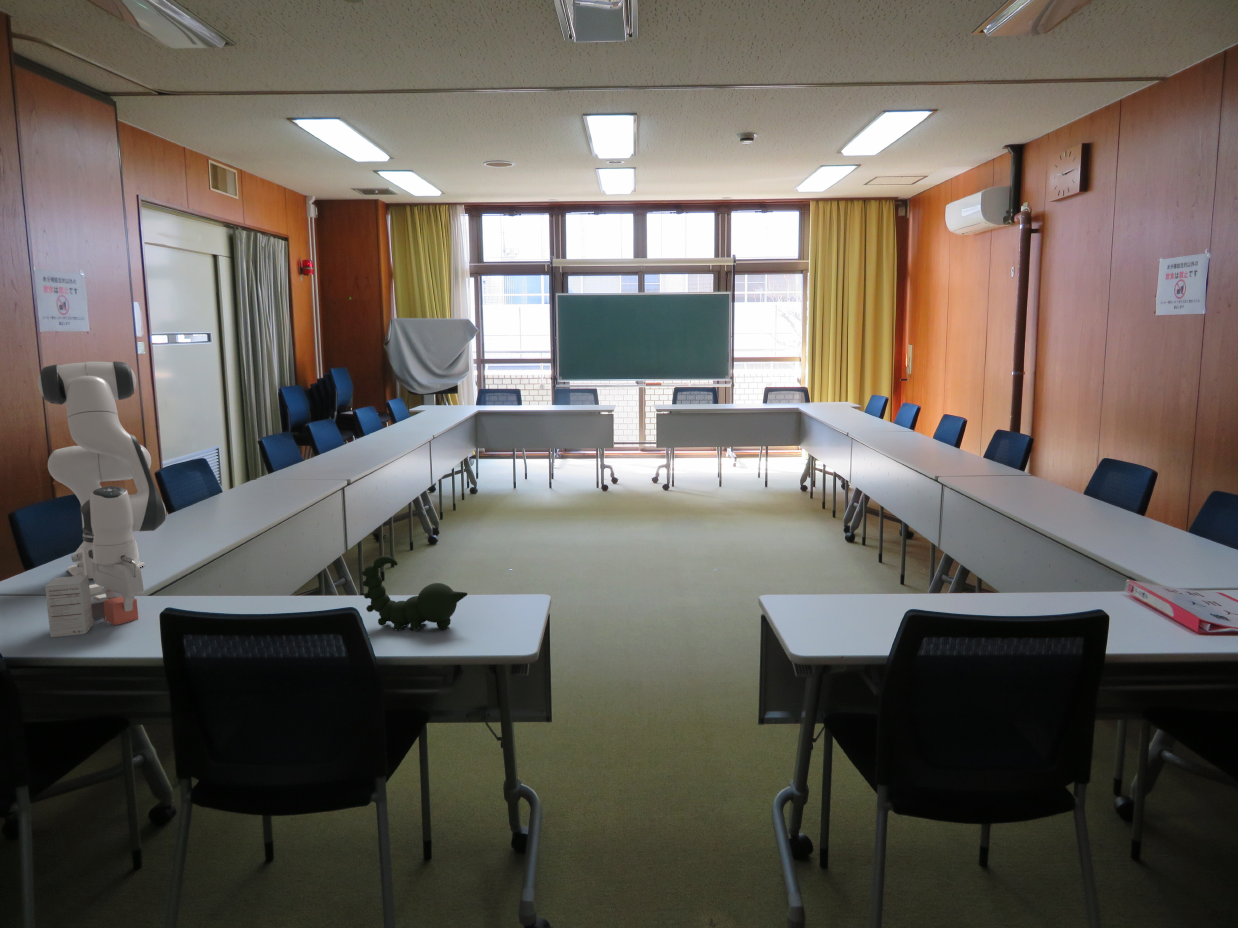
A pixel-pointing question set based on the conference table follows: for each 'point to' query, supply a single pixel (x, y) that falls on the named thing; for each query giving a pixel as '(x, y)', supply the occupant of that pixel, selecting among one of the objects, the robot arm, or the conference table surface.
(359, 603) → the conference table surface
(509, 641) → the conference table surface
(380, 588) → the toy figurine
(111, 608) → the red cube
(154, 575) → the conference table surface
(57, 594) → the supplement box
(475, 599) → the conference table surface
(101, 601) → the block
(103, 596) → the block
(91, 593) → the breaker
